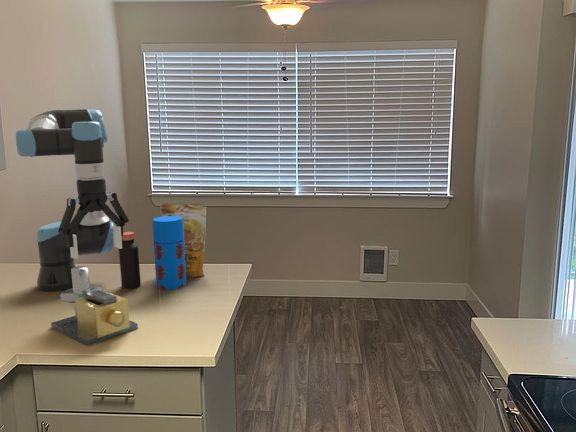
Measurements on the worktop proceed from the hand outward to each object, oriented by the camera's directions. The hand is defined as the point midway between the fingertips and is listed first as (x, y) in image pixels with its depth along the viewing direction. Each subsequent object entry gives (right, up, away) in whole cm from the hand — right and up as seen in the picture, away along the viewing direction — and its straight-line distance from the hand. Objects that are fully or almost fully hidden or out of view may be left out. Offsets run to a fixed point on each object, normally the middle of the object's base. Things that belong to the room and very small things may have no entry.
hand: (97, 252), depth 156 cm
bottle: (-4, -16, +47) cm, 50 cm away
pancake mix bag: (+14, -13, +61) cm, 64 cm away
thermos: (+11, -15, +47) cm, 51 cm away
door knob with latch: (-3, -23, +7) cm, 24 cm away
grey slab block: (0, -21, +4) cm, 22 cm away
